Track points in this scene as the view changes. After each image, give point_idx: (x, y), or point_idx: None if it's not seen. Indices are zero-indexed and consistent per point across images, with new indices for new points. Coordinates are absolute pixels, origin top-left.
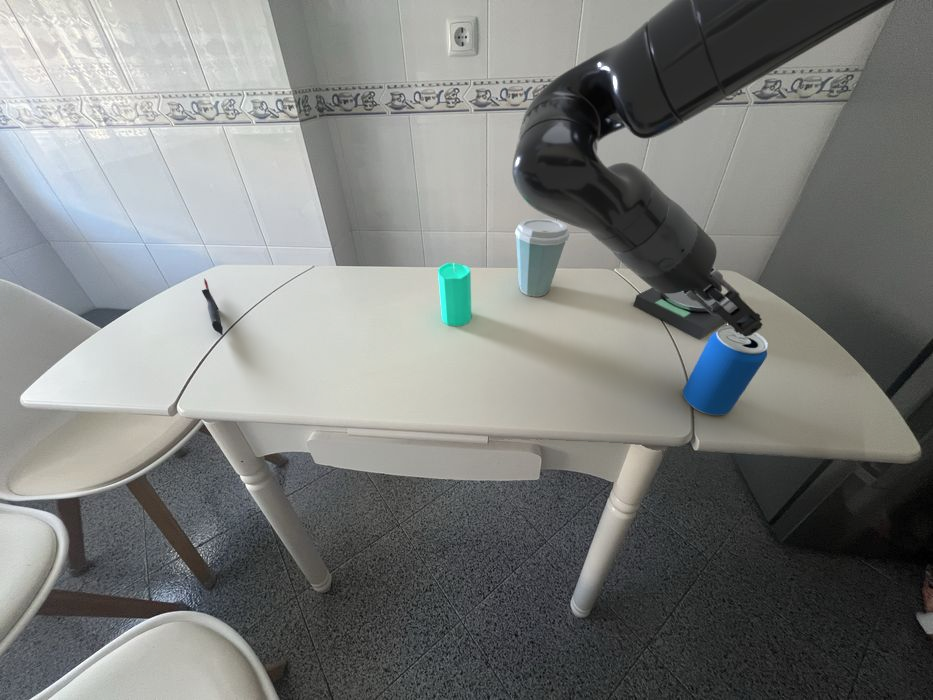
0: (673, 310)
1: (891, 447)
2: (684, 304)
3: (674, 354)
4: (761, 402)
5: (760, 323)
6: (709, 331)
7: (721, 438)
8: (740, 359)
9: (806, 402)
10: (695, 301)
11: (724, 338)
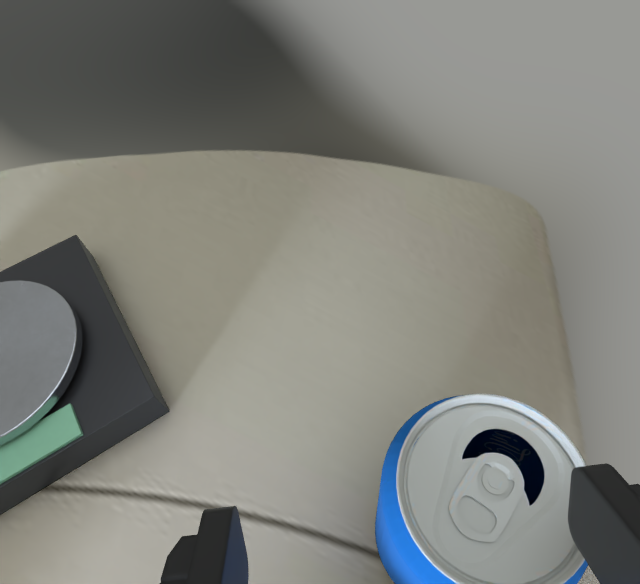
0: (37, 455)
1: (528, 218)
2: (30, 413)
3: None
4: (428, 379)
5: (617, 477)
6: (147, 369)
7: None
8: None
9: (420, 285)
10: (28, 369)
11: (488, 559)
